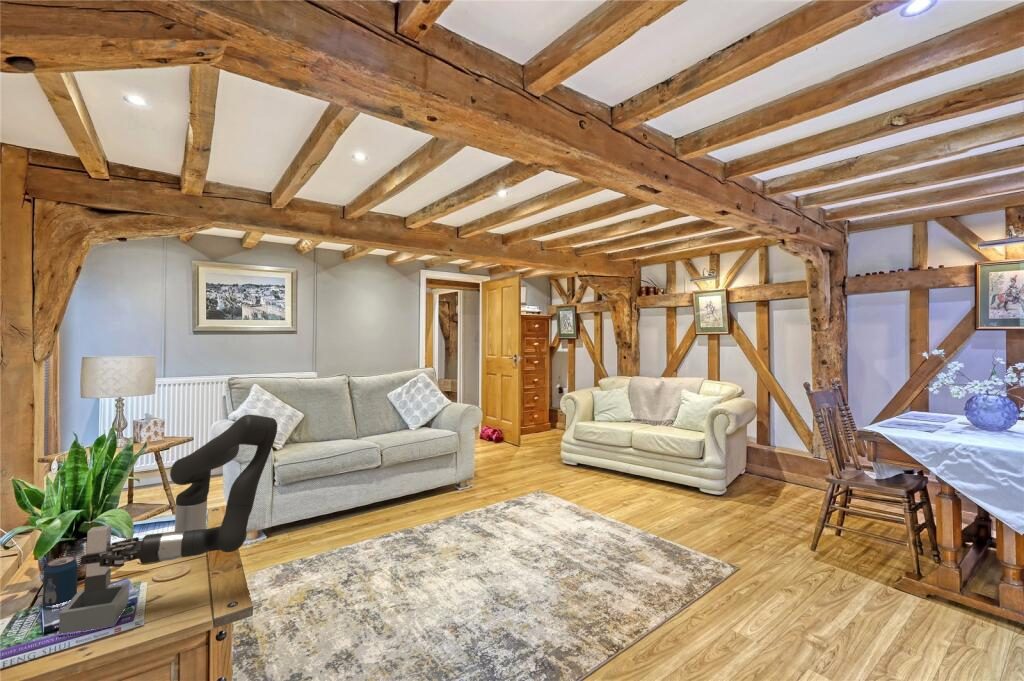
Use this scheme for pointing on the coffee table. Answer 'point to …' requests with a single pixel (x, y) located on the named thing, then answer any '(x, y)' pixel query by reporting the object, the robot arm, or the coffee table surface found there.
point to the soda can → (60, 580)
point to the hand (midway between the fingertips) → (84, 557)
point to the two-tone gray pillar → (95, 574)
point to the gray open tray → (94, 609)
